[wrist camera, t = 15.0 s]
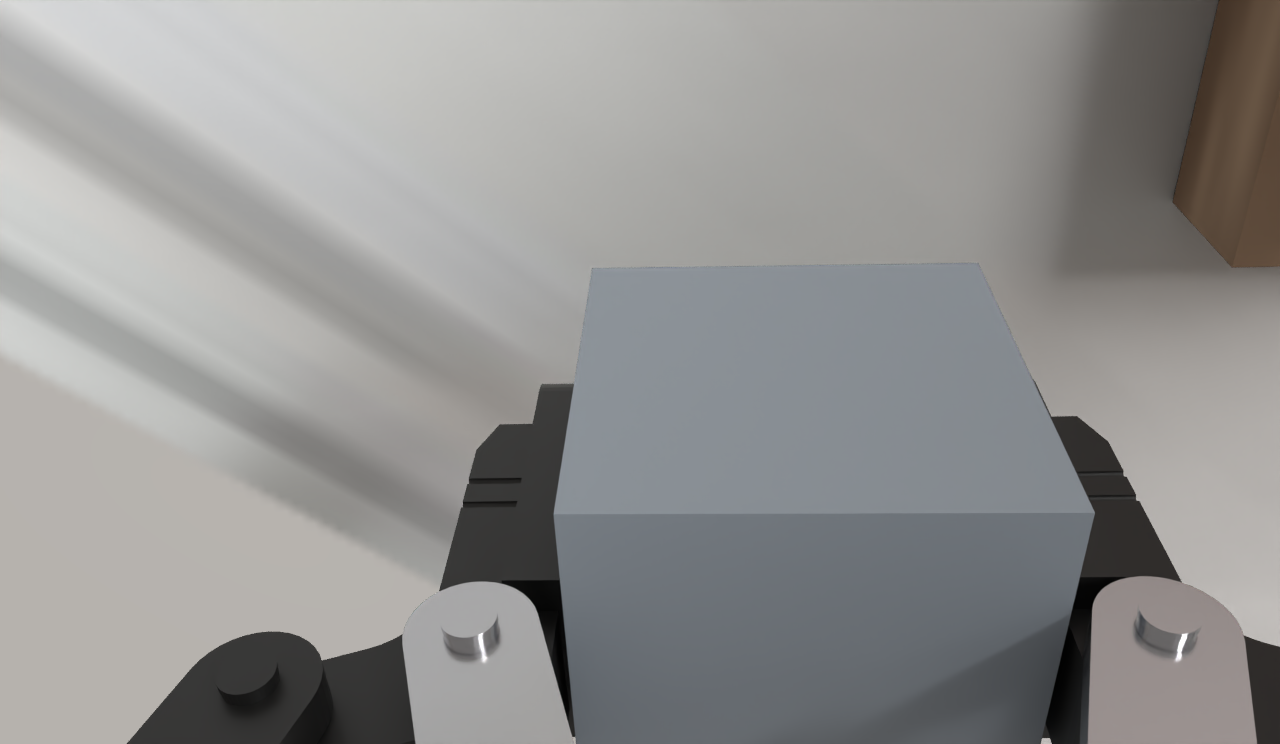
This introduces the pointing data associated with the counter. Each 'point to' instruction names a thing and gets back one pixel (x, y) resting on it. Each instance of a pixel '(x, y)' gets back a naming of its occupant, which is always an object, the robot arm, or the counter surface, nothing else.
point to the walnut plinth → (1237, 137)
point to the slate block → (811, 511)
